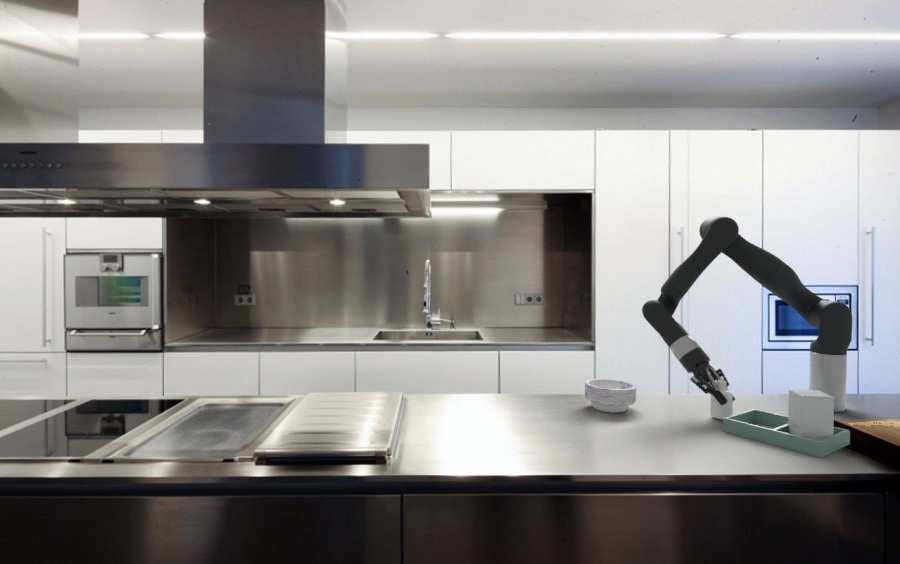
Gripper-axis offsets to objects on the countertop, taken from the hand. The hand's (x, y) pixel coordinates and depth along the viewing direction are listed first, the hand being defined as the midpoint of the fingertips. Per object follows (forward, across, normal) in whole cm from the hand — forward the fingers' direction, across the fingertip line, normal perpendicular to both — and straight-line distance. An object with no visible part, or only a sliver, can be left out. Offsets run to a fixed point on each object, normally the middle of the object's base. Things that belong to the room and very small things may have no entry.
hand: (728, 402), depth 148 cm
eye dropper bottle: (+2, 0, +5) cm, 6 cm away
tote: (+15, -2, -7) cm, 17 cm away
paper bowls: (-15, -18, +23) cm, 33 cm away
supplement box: (+19, -2, -12) cm, 22 cm away
